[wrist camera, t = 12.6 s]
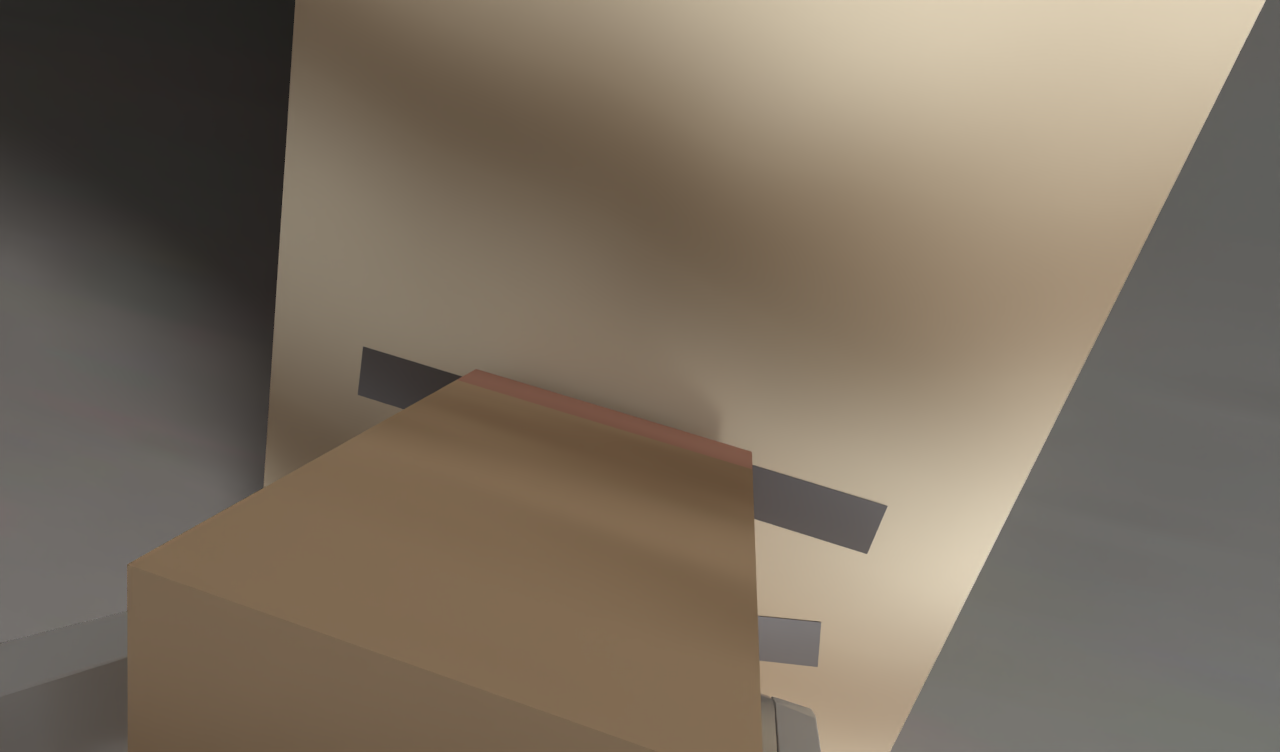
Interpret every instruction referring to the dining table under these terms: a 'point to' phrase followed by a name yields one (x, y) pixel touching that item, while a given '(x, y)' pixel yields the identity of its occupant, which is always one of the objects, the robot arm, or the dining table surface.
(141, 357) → the dining table surface
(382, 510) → the block
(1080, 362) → the board
